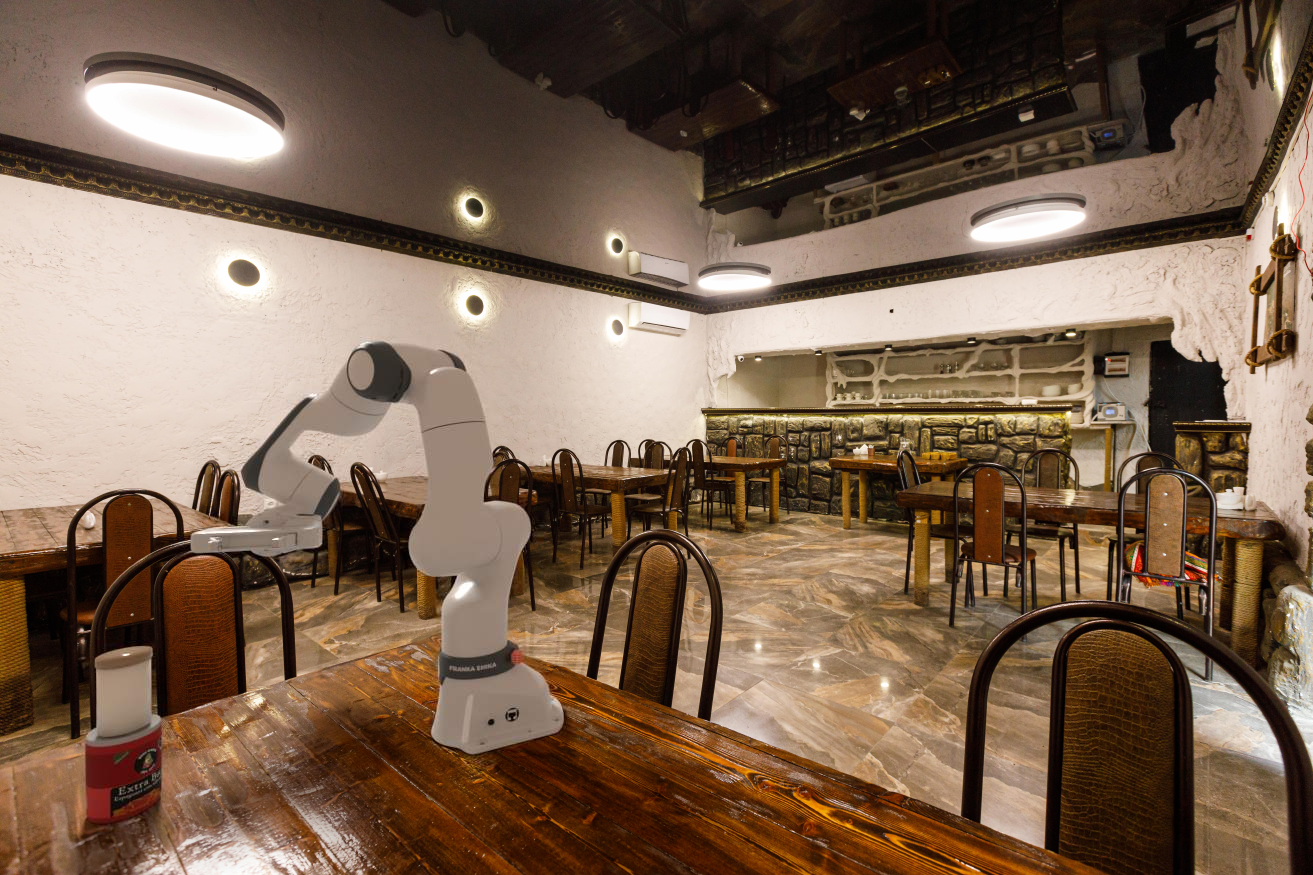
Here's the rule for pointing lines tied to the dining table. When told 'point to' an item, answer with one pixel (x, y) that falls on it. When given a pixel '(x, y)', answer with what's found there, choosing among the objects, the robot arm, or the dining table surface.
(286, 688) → the dining table surface
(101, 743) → the canned food
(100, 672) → the spice jar
